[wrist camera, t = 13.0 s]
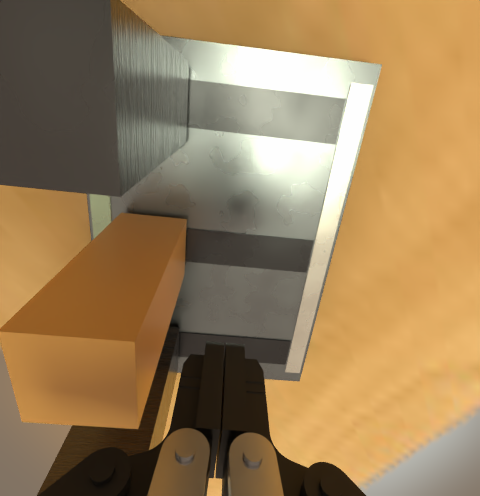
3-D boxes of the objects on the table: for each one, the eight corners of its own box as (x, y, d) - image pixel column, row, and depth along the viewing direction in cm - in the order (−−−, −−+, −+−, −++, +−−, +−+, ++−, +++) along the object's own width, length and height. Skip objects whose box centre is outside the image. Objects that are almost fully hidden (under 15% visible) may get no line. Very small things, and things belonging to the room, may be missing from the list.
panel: (83, 29, 17) (-265, -135, 5) (370, 67, 18) (632, 0, 6) (110, 353, 27) (10, 554, 15) (296, 367, 27) (341, 566, 16)
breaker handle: (121, 212, 19) (-3, 331, 9) (186, 219, 19) (134, 341, 9) (124, 269, 21) (22, 421, 11) (184, 274, 21) (138, 429, 11)
